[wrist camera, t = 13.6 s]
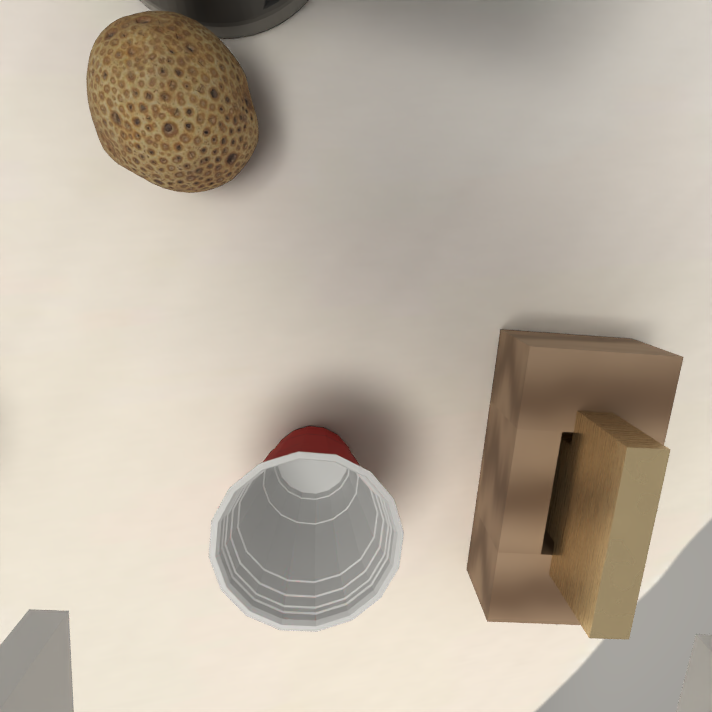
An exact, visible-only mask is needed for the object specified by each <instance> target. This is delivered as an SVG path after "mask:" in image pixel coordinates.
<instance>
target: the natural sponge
mask: <svg viewBox="0 0 712 712" xmlns="http://www.w3.org/2000/svg"><path fill="white" fill-rule="evenodd" d="M87 96H88V103H89V108H90V112H91V116H92V120H93V123H94V125H95V128H96V131H97V135H98V138H99V140H100V142H101V145H102V147H103V148H104V150H105V151H106V152H107V154H108V155H109V156H110V157H111V158H112V159H113V160H114V161H115V162H117V163H118V164H119V165H121V166H123V167H125V168H126V169H128V170H130V171H131V172H133V173H135V174H137V175H138V176H140V177H142V178H144V179H146V180H147V181H149V182H151V183H153V184H155V185H158V186H160V187H163V188H165V189H169V190H173V191H178V192H188V193H190V192H192V193H194V192H201V191H207V190H210V189H213V188H216V187H219V186H221V185H223V184H225V183H227V182H229V181H231V180H232V179H233V178H234V177H235V176H236V175H237V174H238V173H239V172H240V171H241V170H242V169H243V167H244V166H245V165H246V163H247V162H248V161H249V159H250V157H251V156H252V154H253V152H254V150H255V147H256V145H257V142H258V133H259V131H258V121H257V116H256V113H255V109H254V106H253V103H252V99H251V95H250V92H249V88H248V83H247V79H246V76H245V74H244V72H243V70H242V68H241V66H240V65H239V63H238V61H237V60H236V58H235V57H234V56H233V54H232V53H231V52H230V51H229V49H228V48H227V47H226V46H225V45H224V44H223V43H222V41H221V40H220V39H219V38H218V37H217V36H216V35H215V34H214V33H213V32H211V31H210V30H209V29H207V28H206V27H205V26H203V25H202V24H200V23H199V22H197V21H196V20H193V19H191V18H189V17H187V16H184V15H182V14H179V13H175V12H169V11H146V12H141V13H137V14H133V15H129V16H125V17H122V18H120V19H118V20H116V21H114V22H113V23H111V24H110V25H109V26H108V27H106V28H105V29H104V30H103V31H102V32H101V34H100V35H99V37H98V38H97V39H96V41H95V43H94V45H93V48H92V50H91V53H90V57H89V63H88V69H87Z"/></svg>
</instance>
